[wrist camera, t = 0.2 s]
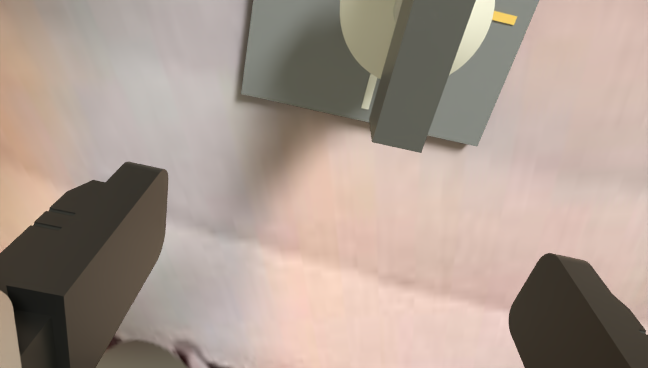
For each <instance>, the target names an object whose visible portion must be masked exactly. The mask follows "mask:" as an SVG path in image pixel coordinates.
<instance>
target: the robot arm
mask: <svg viewBox="0 0 648 368" xmlns="http://www.w3.org/2000/svg"><path fill="white" fill-rule="evenodd" d="M167 194H168V173H167V171H166V170H165V169H160V168H156V167H151V166H146V165H142V164H137V163H132V162H126V163H124V164H123V165H122V166H121V167H120V168H119V169H118V170H117V171H116V172H115V173H114V174H113V175H112V176H111V177H110V178H109V179H108V180H107V182H106V183H105V182H100V181H96V180H92V181H90V182H88V183H85V184H83V185H81V186H78V187H76V188H74V189H72V190H69V191H67V192H66V193H65V194H64V195H63V196H62V197H61V198H60V199H59V200H58V201H56V202H55V203H54V204H53V205H52V206H51V207H50V209H49V211H46V212H45V213H43V214H42V215H41V216H40V217H39V218H38V219H37V220H36V221H35V223H34V225H33V226H31V225H30V226H29V227H28V228H27V229H26V230H25V231H24V232H23V233H22V234H21V235H20V236H19V237H17V238H16V239H15V240H14V241H13V242H12V243H11V244H10V245H9V246H8V247H7V248H6V249H4V250H3V251H2V252H1V253H0V368H96V366H97V364H98V362H99V361H100V359H101V357H102V355H103V354H104V352H105V350H106V348H107V347H108V345H109V343H110V342H111V340H112V338H113V336H114V335H115V333H116V331H117V329H118V328H119V326H120V324H121V322H122V321H123V319H124V317H125V316H126V314H127V312H128V310H129V309H130V307H131V305H132V303H133V302H134V300H135V298H136V296H137V295H138V293H139V291H140V290H141V288H142V286H143V284H144V283H145V281H146V279H147V277H148V276H149V274H150V272H151V270H152V269H153V267H154V265H155V264H156V262H157V260H158V258H159V255H160V252H161V249H162V246H163V242H164V237H165V228H166V211H167ZM509 329H510V333H511V336H512V338H513V340H514V343H515V345H516V348H517V350H518V352H519V355H520V357H521V360H522V362H523V364H524V367H525V368H648V335H646V334H645V332H646V330H645V329H644V328H643V326H642V325H641V324H640V322H639V321H638V320H637V318H636V317H635V316H634V314H633V313H632V312H631V310H630V309H629V308H628V307H626V306H625V305H624V304H623V303H622V302H621V301H620V300H618V299H617V298H616V297H615V296H614V295H613V294H612V293H611V292H610V290H609V289H608V288H607V286H606V285H605V284H604V282H603V281H602V280H601V278H600V277H599V276H598V274H597V273H596V272H595V270H594V269H593V268H592V266H591V265H590V264H589V263H588V262H586V261H584V260H580V259H575V258H570V257H566V256H561V255H556V254H552V253H548V254H545V255H544V256H542V257H541V258H540V259H539V261H538V262H537V264H536V266H535V267H534V269H533V271H532V272H531V274H530V276H529V277H528V279H527V281H526V282H525V284H524V286H523V287H522V289H521V291H520V292H519V294H518V295H517V297H516V299H515V300H514V302H513V304H512V306H511V309H510V313H509Z"/></svg>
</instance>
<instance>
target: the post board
mask: <svg viewBox="0 0 648 368" xmlns="http://www.w3.org/2000/svg"><path fill="white" fill-rule="evenodd" d="M538 2H539V0H495V8H494V13H493V18H492V21H491V24H490V27H489V30H488V32H487V34H486V36H485V38H484V40H483V42H482V43H481V45H480V47H479V48H478V49H477V51H476V52H475V53H474V55H473V56H472V57H471V58H470V59H469V60H468V61H467V62H466V63H465V64H464V65H463V66H461V67H460V68H459V69H458V70H456V71H455V72H453V73H452V74H450V75H449V76H448V79H447V82H446V85H445V88H444V90H443V93H442V96H441V99H440V102H439V104H438V107H437V110H436V113H435V115H434V118H433V121H432V124H431V127H430V129H429V132H428V136H432V137H437V138H441V139H446V140H450V141H455V142H459V143H464V144H468V145H473V146H478V144H479V141H480V139H481V136H482V134H483V132H484V129H485V127H486V125H487V122H488V120H489V118H490V115H491V113H492V111H493V108H494V106H495V103H496V101H497V99H498V96H499V94H500V92H501V89H502V87H503V85H504V82H505V80H506V78H507V75H508V73H509V70H510V68H511V66H512V63H513V61H514V59H515V56H516V54H517V52H518V49H519V47H520V45H521V42H522V40H523V37H524V35H525V33H526V30H527V28H528V26H529V23H530V21H531V19H532V16H533V14H534V12H535V9H536V7H537V4H538ZM379 82H380V79H379V78H377V77H375V76H374V75H372V74H371V73H369V72H368V71H367V70H366V69H364V68H363V67H362V66H361V65H360V64H359V63H358V61H357V60H356V59H355V58H354V56H353V55H352V53H351V52H350V50H349V48H348V46H347V44H346V42H345V39H344V36H343V33H342V28H341V23H340V0H253V6H252V14H251V22H250V29H249V37H248V45H247V52H246V60H245V68H244V76H243V83H242V91H241V94H243V95H248V96H252V97H257V98H261V99H266V100H270V101H275V102H279V103H284V104H288V105H293V106H297V107H302V108H306V109H311V110H315V111H320V112H324V113H329V114H333V115H338V116H342V117H347V118H351V119H356V120H360V121H365V122H369V117H370V114H371V110H372V107H373V103H374V100H375V96H376V93H377V89H378V86H379Z"/></svg>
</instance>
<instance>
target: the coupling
mask: <svg viewBox="0 0 648 368" xmlns="http://www.w3.org/2000/svg"><path fill="white" fill-rule="evenodd" d="M494 8H495V0H340V23H341V28H342V33H343V36H344V39H345V42H346V44H347V46H348V48H349V50H350V52H351V53H352V55H353V56H354V58H355V59H356V60H357V61H358V63H359V64H360V65H361V66H362V67H363V68H364V69H366V70H367V71H368V72H369V73H371V74H372V75H374V76H375V77H377V78H379V79H380V82H379V86H378V89H377V93H376V96H375V100H374V103H373V107H372V110H371V114H370V117H369V124H370V131H371V138H372V142H374V143H379V144H383V145H388V146H392V147H397V148H401V149H406V150H411V151H415V152H420V153H421V152H422V149H423V146H424V143H425V141H426V138H427V135H428V132H429V129H430V127H431V124H432V121H433V118H434V115H435V113H436V110H437V107H438V104H439V102H440V99H441V96H442V93H443V90H444V88H445V85H446V82H447V79H448V76H449V75H450V74H452V73H453V72H455V71H456V70H458V69H459V68H460V67H461V66H463V65H464V64H465V63H466V62H467V61H468V60H469V59H470V58H471V57H472V56H473V55H474V53H475V52H476V51H477V49H478V48H479V47H480V45H481V43H482V42H483V40H484V38H485V36H486V34H487V32H488V30H489V27H490V24H491V21H492V18H493V13H494Z"/></svg>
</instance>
